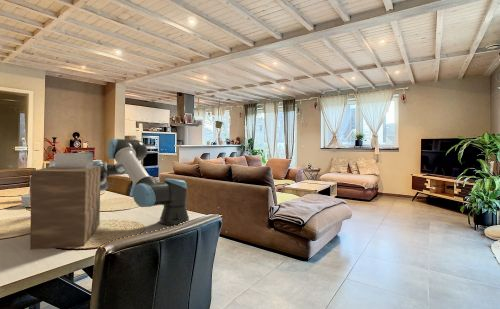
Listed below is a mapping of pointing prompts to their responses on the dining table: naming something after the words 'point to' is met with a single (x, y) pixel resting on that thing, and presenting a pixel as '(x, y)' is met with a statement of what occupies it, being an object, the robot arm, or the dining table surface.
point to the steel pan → (74, 160)
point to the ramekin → (25, 200)
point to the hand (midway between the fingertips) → (91, 163)
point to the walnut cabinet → (64, 206)
